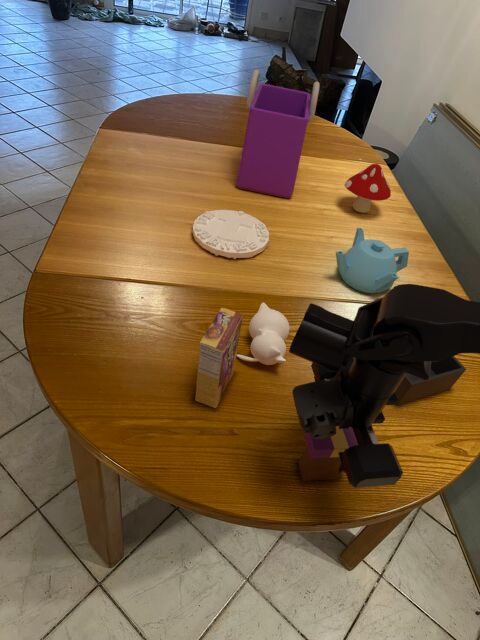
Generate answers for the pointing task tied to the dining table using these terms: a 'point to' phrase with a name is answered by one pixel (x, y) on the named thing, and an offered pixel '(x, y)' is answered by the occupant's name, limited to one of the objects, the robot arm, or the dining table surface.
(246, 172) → the shopping bag
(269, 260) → the dining table surface
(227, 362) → the candy box
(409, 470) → the dining table surface
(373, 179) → the decorative mushroom
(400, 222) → the dining table surface
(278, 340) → the cat figurine
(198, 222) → the white round plaque
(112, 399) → the dining table surface
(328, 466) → the block stand
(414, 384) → the waste bin
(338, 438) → the chocolate bar
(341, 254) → the teakettle
